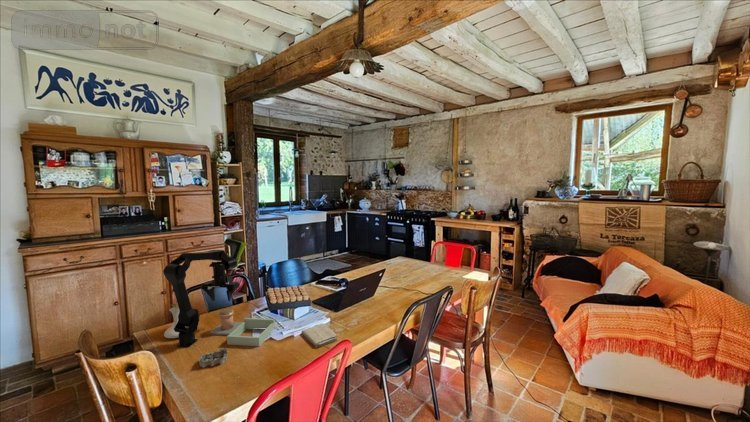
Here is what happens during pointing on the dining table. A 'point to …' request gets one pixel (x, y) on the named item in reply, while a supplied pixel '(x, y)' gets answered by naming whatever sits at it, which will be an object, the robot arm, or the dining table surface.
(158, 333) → the dining table surface
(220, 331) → the slate tile
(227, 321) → the terracotta pot
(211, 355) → the egg carton
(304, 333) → the washcloth
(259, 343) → the frame
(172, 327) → the flower in vase
